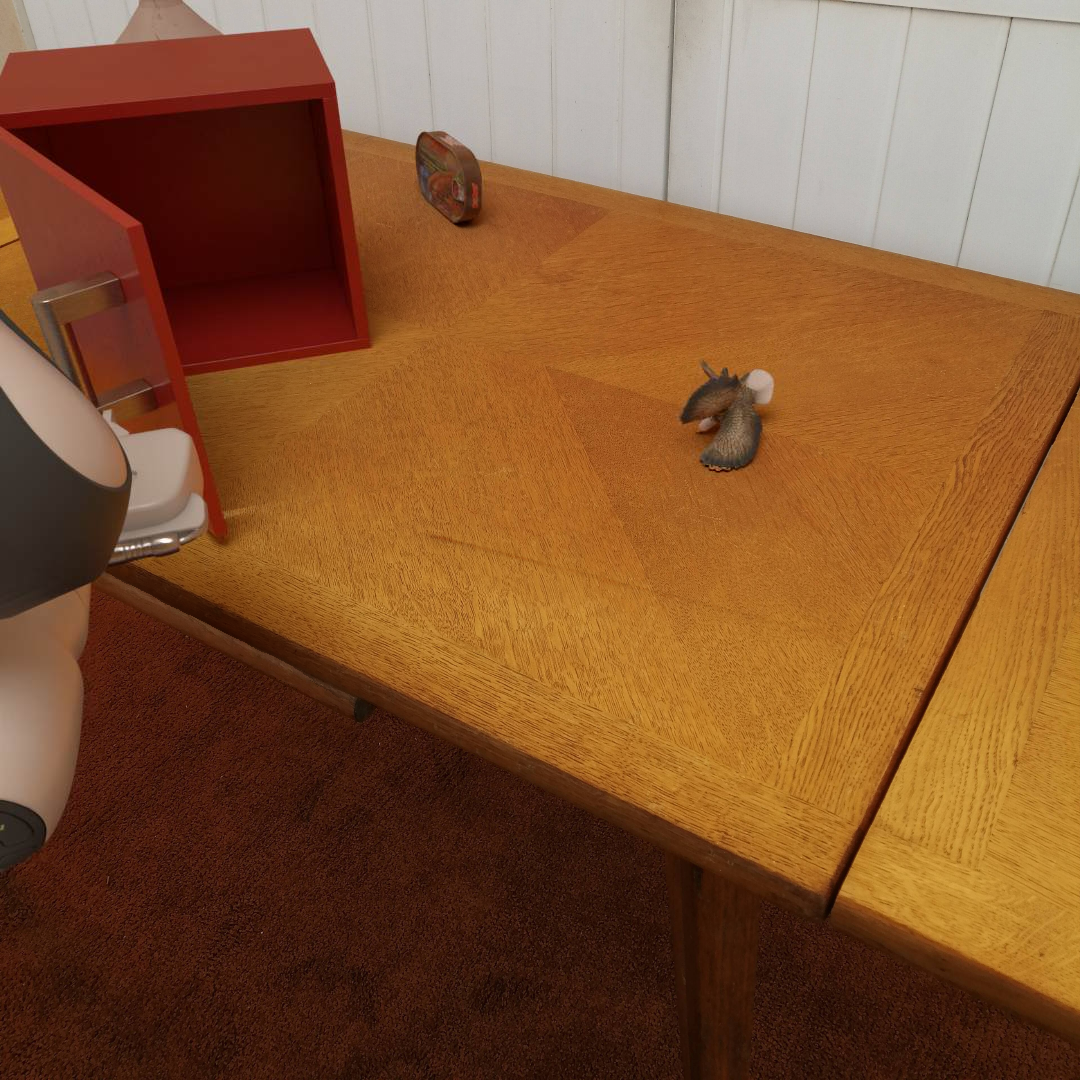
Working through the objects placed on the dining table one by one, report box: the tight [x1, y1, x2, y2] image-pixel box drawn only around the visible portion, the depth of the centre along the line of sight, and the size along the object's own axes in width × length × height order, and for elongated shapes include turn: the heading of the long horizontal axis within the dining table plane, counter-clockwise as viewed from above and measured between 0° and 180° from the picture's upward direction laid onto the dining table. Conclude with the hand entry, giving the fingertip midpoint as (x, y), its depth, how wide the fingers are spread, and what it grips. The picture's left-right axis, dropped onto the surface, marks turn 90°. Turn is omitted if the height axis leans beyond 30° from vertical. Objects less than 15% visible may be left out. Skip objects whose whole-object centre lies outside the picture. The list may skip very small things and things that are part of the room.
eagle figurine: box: [678, 359, 775, 469], centre depth 82 cm, size 8×7×9 cm
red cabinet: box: [0, 27, 372, 377], centre depth 92 cm, size 18×26×24 cm
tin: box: [414, 130, 483, 224], centre depth 120 cm, size 15×3×8 cm, turn 27°
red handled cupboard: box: [0, 126, 228, 538], centre depth 74 cm, size 6×26×24 cm, turn 41°
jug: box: [114, 0, 225, 44], centre depth 124 cm, size 20×18×30 cm
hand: (20, 434), depth 59 cm, fingers open, 8 cm apart
